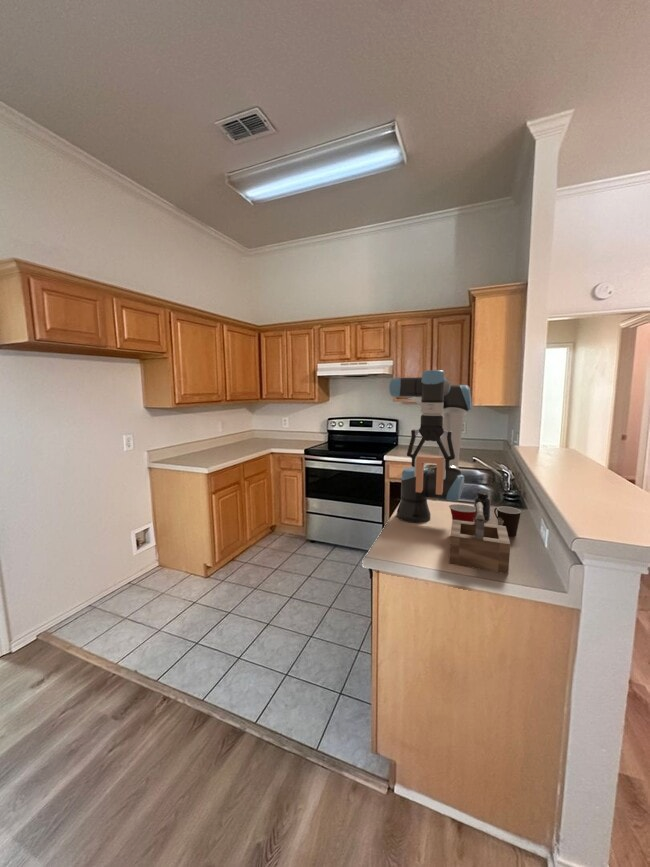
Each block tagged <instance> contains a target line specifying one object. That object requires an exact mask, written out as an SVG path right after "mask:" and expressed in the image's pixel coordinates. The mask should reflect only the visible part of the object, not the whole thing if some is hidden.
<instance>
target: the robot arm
mask: <svg viewBox="0 0 650 867" xmlns="http://www.w3.org/2000/svg"><path fill="white" fill-rule="evenodd" d="M421 373H422V374H421V377H419V376H418V377H401V376H399V377H393V378H392V379H391V380H390V381H389V387H388V390H389V394H390V396H391V397H395V398H404V399H409V400H410V401H413V402H415V403H416V404H417V405H418V406H420V413H421V415H420V427H419V428H418V429H415V428H414V429H412V430H411V431H410V433H411V438H410V442H409V445H408V448H407V451H406V456H407V457H409V458H411V467H406V468H404V469H403V470H402V472H401V479H400V480H401V482H400V483H401V484H400V485H401V486H400V502H399V504H398V507H397V510H396V518H397V519H399V520H401V521H404V522H405V523H414V524H421V523H426V522H429V521H430V520H431V511H430V508H429V504H428V498H429V499H436V500H437V499H438V500H442V501H450V502H452V501H453V502H456V501H459V500H460V498H461V496H462V493H463V490H464V484H465V475H464V474H462V470H461V469H460V468H459V462H460V451H461V442H462V434H463V426H464V425H463V424H464V423H463V422H464V417H466V416H467V415H468V412H469V411H471V410H472V394H471V388H470V386H469V385H467V384H451V383H450V381H449V380H448V379H447V378H446V376H445V370H442V369H429V370H428V369H427V370H424V371H422V372H421ZM419 434H420V435H421V439H420V440H419V443H418V444H417V447H416V448H415V450H414V452H413V449H414V445H415V442H416V437H417V436H418V435H419ZM430 441H431V442H436V443H437V445H438V448H439V454H438V456H443V457H444V460H443V478H442V479H443V493H442V495H438V494H436V472H437V465H435V466H434V467H433V471H429V468H428V467H425V466H424V471H423V490H422V492H421V493H420V492H416V459H417V456H418V455H419V453H420V451H421V449H422V447H423V445H424V444H425V442H430Z"/></svg>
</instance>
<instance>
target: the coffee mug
mask: <svg viewBox="0 0 650 867" xmlns="http://www.w3.org/2000/svg"><path fill="white" fill-rule="evenodd" d="M493 513H494V515H495V518H496V519H497V525H500V526H506V529H507V533H508V537H509V538H510V537H516V536H517V532H518V527H519V524H520V519H521V514H522V512H521V509H518V508H515V507H512V506H498V507H495V508H494V510H493Z"/></svg>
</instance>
